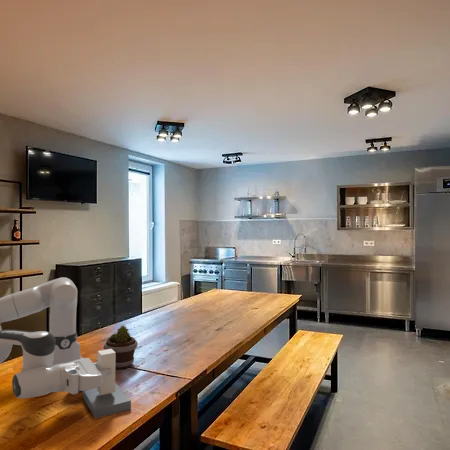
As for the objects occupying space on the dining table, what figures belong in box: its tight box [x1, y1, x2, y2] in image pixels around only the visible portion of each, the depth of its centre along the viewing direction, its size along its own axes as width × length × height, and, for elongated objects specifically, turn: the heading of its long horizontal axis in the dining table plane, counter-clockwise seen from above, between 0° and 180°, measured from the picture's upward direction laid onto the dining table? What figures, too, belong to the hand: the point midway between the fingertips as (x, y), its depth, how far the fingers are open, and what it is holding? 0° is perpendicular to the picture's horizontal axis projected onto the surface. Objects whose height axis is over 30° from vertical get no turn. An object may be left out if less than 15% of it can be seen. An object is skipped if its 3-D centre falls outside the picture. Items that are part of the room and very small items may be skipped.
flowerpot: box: [102, 324, 138, 370], centre depth 171 cm, size 14×15×20 cm
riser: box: [82, 382, 132, 419], centre depth 134 cm, size 18×12×3 cm, turn 34°
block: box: [96, 349, 116, 395], centre depth 134 cm, size 5×5×14 cm
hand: (108, 367), depth 135 cm, fingers closed on block, 5 cm apart
